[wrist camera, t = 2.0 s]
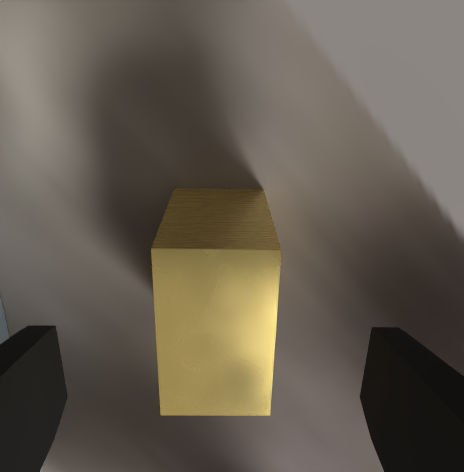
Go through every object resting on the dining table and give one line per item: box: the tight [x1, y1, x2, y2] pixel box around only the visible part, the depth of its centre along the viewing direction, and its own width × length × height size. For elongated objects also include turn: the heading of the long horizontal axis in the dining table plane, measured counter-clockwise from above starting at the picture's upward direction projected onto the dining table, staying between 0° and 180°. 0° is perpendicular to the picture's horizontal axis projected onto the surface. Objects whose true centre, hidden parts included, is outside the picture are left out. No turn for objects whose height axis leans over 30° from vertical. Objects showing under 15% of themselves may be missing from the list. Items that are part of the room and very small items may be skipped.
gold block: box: [151, 188, 281, 416], centre depth 13 cm, size 5×3×5 cm, turn 179°
